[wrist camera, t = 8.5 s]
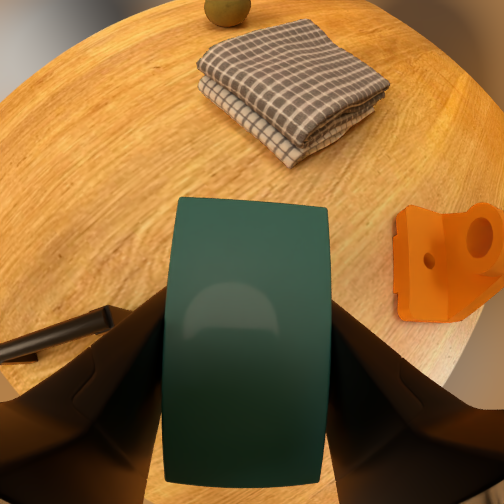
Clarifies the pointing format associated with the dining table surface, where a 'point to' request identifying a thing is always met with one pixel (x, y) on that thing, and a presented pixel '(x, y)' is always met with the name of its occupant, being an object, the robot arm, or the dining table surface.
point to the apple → (227, 11)
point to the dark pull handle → (60, 334)
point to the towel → (290, 87)
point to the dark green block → (246, 344)
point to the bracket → (447, 262)
